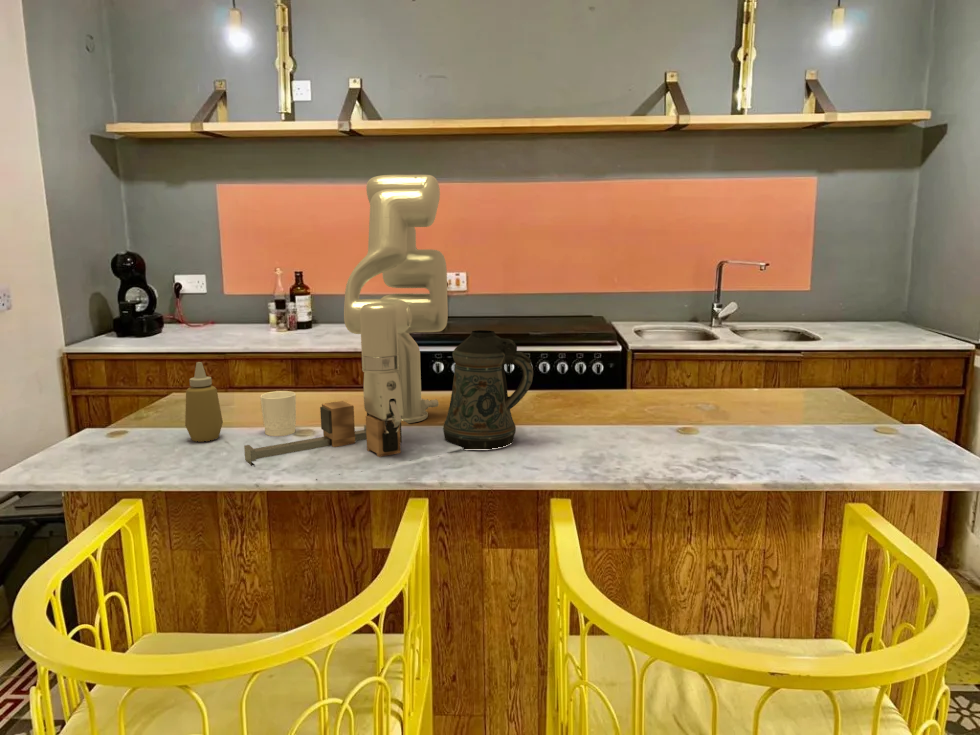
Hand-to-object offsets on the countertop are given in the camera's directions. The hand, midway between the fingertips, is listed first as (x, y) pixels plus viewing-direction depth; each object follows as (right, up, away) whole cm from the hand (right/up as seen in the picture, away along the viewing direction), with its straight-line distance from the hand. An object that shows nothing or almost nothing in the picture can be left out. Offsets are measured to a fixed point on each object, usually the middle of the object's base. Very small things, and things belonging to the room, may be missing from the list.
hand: (383, 446), depth 151 cm
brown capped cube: (0, -2, 0) cm, 2 cm away
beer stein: (+22, 0, +11) cm, 24 cm away
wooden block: (-11, 0, +7) cm, 13 cm away
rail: (-16, -1, +4) cm, 16 cm away
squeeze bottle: (-43, 0, +14) cm, 46 cm away
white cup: (-26, 0, +16) cm, 31 cm away
